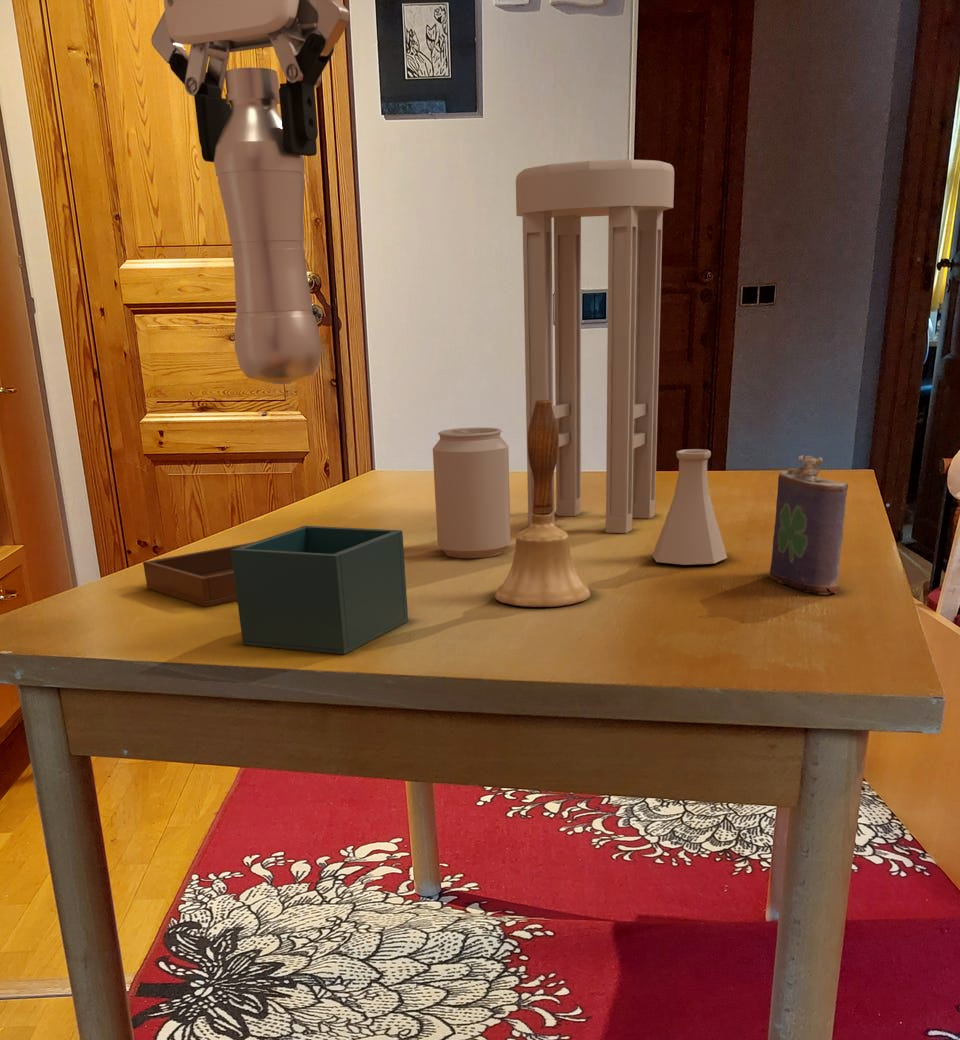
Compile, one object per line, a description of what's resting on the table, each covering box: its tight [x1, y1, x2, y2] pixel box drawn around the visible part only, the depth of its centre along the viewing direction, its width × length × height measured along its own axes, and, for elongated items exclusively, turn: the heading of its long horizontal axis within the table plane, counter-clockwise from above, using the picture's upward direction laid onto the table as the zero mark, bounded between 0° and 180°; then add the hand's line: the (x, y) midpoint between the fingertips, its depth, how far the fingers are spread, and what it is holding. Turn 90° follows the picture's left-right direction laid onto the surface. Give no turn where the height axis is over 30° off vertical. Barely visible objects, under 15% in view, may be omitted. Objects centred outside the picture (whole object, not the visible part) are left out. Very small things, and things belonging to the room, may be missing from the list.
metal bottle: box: [213, 67, 322, 385], centre depth 85 cm, size 6×7×20 cm
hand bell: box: [494, 400, 591, 608], centre depth 98 cm, size 8×8×16 cm
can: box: [432, 427, 512, 559], centre depth 117 cm, size 8×8×12 cm
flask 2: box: [769, 455, 849, 596], centre depth 100 cm, size 9×3×11 cm, turn 16°
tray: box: [142, 541, 254, 608], centre depth 111 cm, size 16×11×2 cm
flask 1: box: [651, 448, 728, 566], centre depth 111 cm, size 7×7×10 cm
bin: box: [231, 525, 409, 655], centre depth 92 cm, size 10×9×7 cm
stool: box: [515, 158, 675, 534], centre depth 126 cm, size 16×16×35 cm
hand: (259, 155), depth 83 cm, fingers closed on metal bottle, 6 cm apart
